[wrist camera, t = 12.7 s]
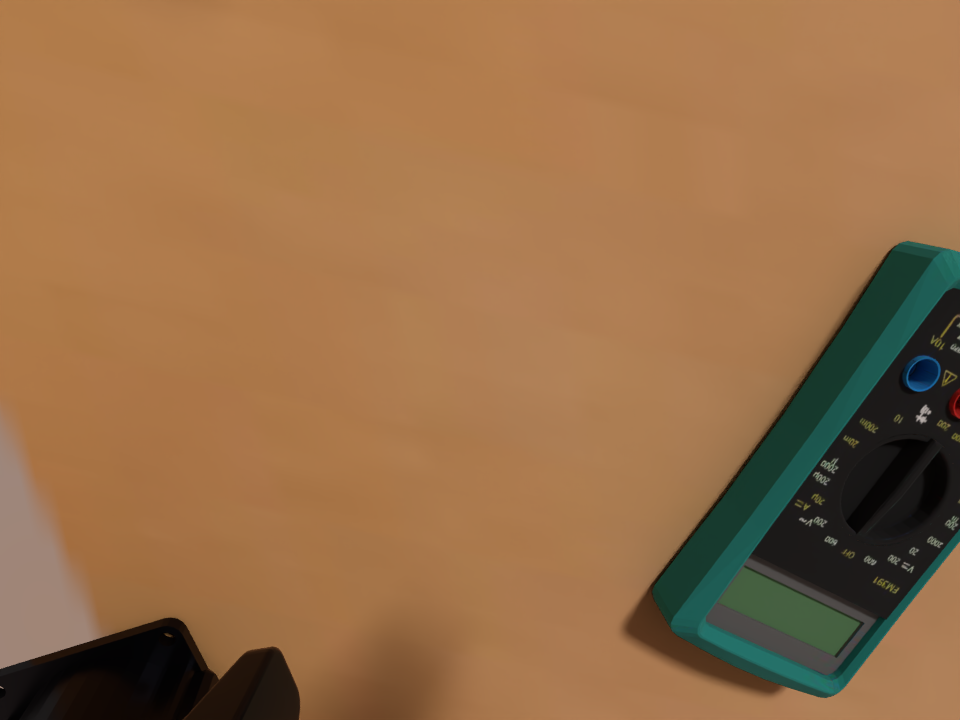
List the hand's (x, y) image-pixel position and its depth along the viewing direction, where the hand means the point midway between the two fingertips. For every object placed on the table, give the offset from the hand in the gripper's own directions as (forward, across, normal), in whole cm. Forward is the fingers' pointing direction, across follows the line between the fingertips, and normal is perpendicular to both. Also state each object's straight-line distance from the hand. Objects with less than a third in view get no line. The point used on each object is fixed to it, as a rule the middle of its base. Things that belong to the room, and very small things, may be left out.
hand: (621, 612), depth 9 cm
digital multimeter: (+14, -9, +8) cm, 18 cm away
